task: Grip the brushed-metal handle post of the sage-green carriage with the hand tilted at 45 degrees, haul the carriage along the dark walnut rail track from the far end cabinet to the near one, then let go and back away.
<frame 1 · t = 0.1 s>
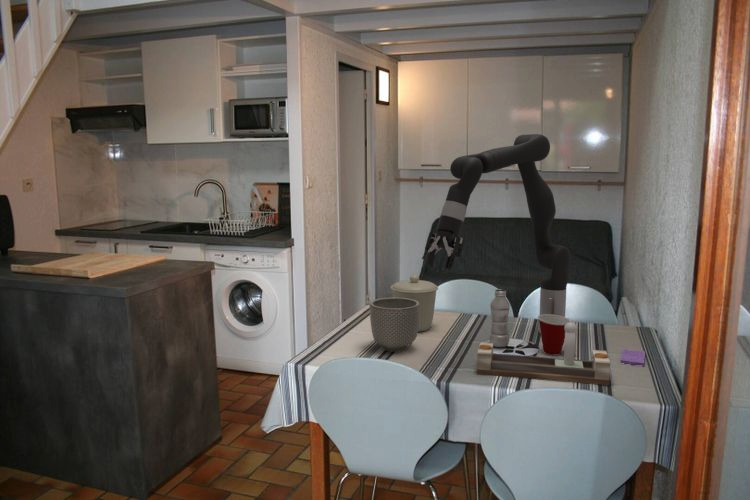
hand: (437, 267, 192), 31 cm above the table, tool tilted 20°, fingers open, 8 cm apart
planter: (394, 348, 213), on the table
canister: (414, 329, 237), on the table
plastic bottle: (499, 347, 214), on the table
plastic cup: (553, 352, 208), on the table
sponges: (632, 361, 201), on the table
carriage: (569, 346, 185), point 9 cm above the table, slide at 8.0 cm
rail track: (541, 372, 189), on the table
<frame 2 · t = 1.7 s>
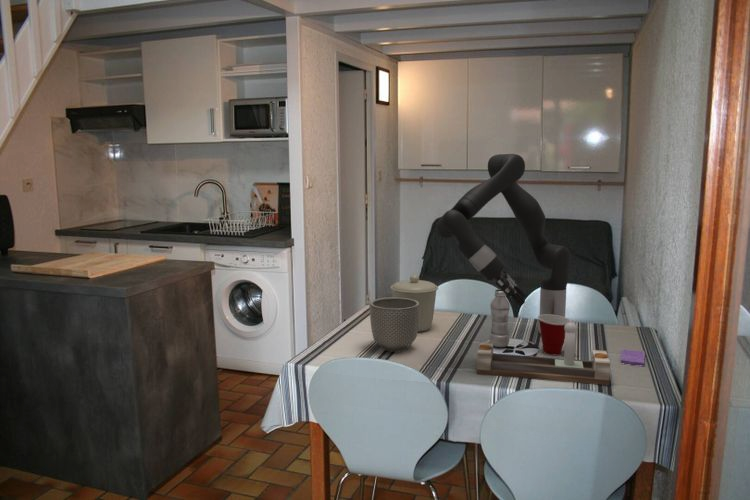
hand: (523, 300, 190), 21 cm above the table, tool tilted 45°, fingers open, 8 cm apart
nothing on the table moved.
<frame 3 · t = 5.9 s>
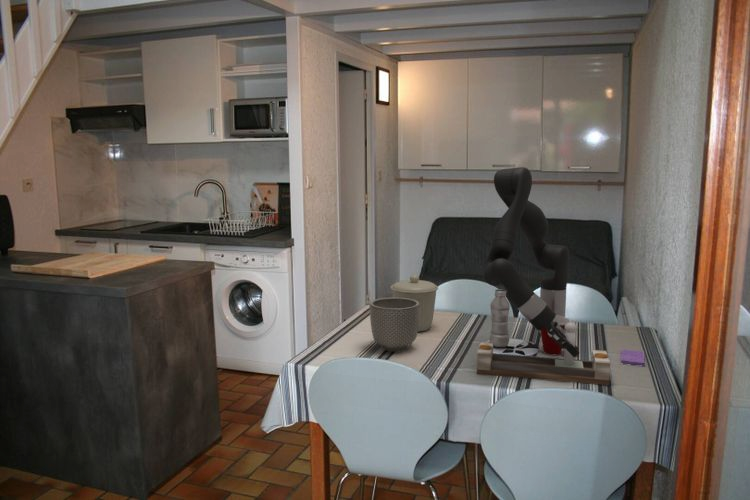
hand: (576, 353, 185), 7 cm above the table, tool tilted 45°, fingers closed on carriage, 3 cm apart
carriage: (569, 346, 185), point 9 cm above the table, slide at 8.0 cm, touching gripper
everything else where it was.
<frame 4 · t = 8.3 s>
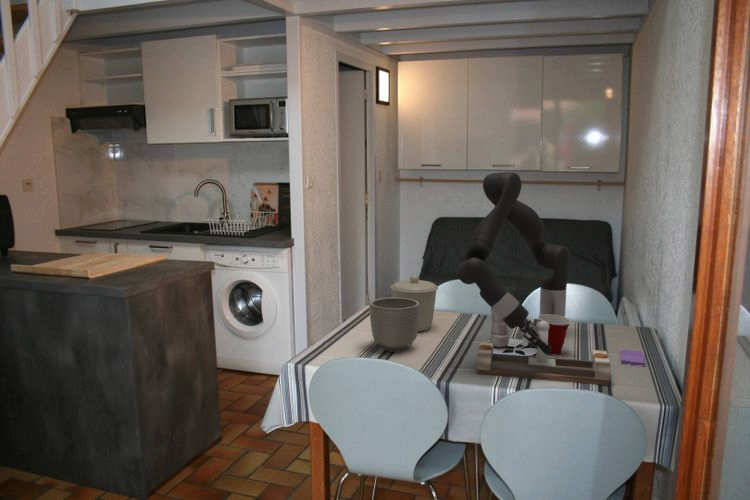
hand: (549, 351, 187), 7 cm above the table, tool tilted 45°, fingers closed on carriage, 3 cm apart
carriage: (542, 344, 187), point 9 cm above the table, slide at 0.1 cm, touching gripper
everything else where it was.
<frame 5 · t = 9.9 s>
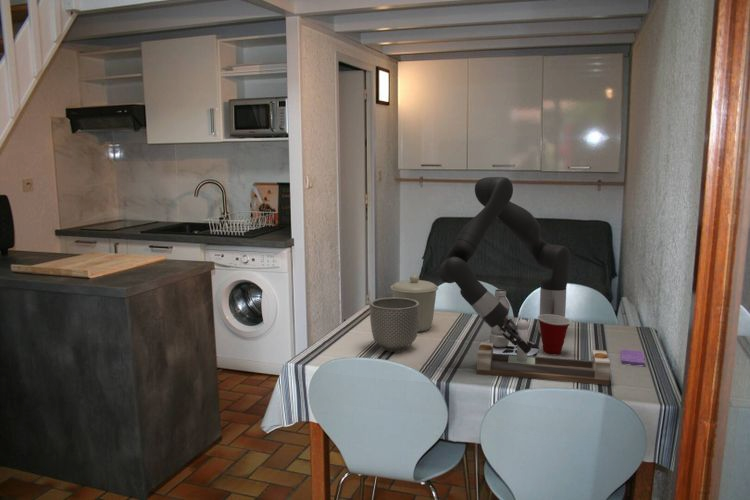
hand: (528, 349, 189), 7 cm above the table, tool tilted 45°, fingers closed on carriage, 3 cm apart
carriage: (522, 342, 189), point 9 cm above the table, slide at -5.9 cm, touching gripper
everything else where it was.
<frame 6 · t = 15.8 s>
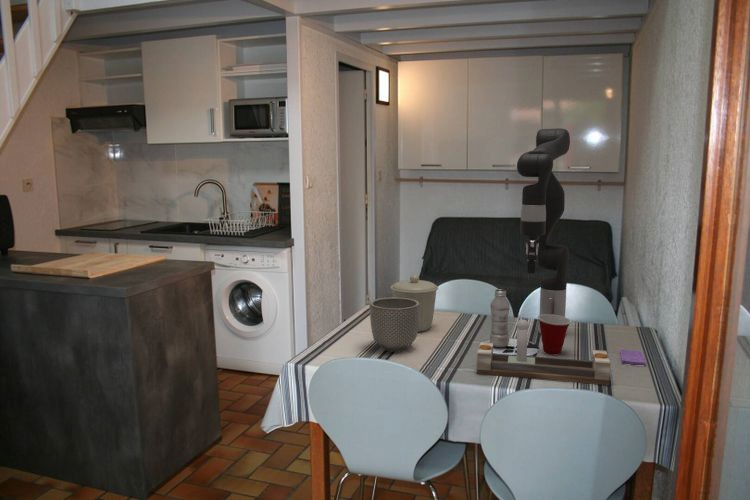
hand: (531, 270, 193), 30 cm above the table, tool pointing down, fingers open, 8 cm apart
carriage: (522, 342, 189), point 9 cm above the table, slide at -6.0 cm
everything else where it was.
at the end: carriage slide at -6.0 cm; the gripper is holding nothing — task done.
